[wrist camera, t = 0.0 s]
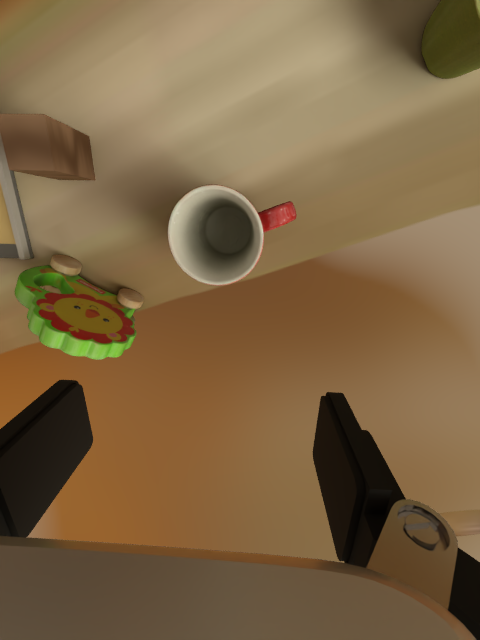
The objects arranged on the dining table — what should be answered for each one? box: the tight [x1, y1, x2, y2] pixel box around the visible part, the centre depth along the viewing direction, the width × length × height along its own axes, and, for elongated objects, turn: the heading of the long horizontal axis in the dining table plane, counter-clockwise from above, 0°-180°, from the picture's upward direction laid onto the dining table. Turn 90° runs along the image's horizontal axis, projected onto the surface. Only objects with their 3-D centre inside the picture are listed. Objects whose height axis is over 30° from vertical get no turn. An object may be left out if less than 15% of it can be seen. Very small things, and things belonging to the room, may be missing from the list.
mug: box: [168, 185, 296, 286], centre depth 32 cm, size 13×9×14 cm
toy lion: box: [15, 255, 144, 360], centre depth 35 cm, size 16×5×15 cm, turn 60°
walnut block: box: [0, 114, 95, 180], centre depth 32 cm, size 5×5×8 cm
